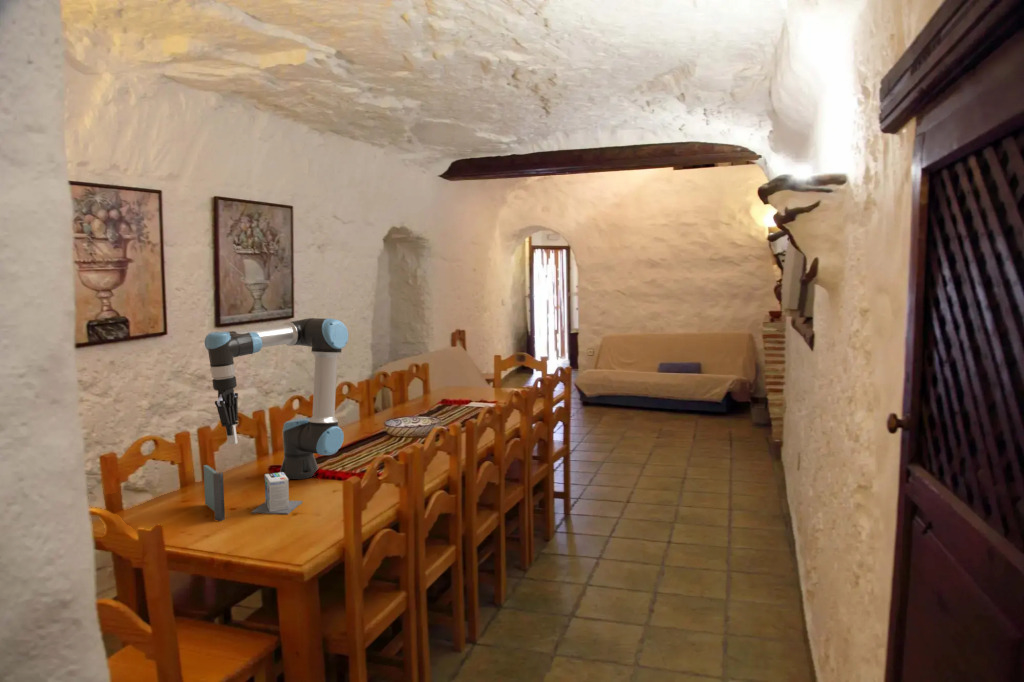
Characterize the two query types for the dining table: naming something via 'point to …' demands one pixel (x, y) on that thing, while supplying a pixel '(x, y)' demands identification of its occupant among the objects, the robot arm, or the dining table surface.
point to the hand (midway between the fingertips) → (232, 443)
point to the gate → (209, 486)
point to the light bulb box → (276, 491)
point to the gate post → (219, 496)
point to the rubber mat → (264, 509)
